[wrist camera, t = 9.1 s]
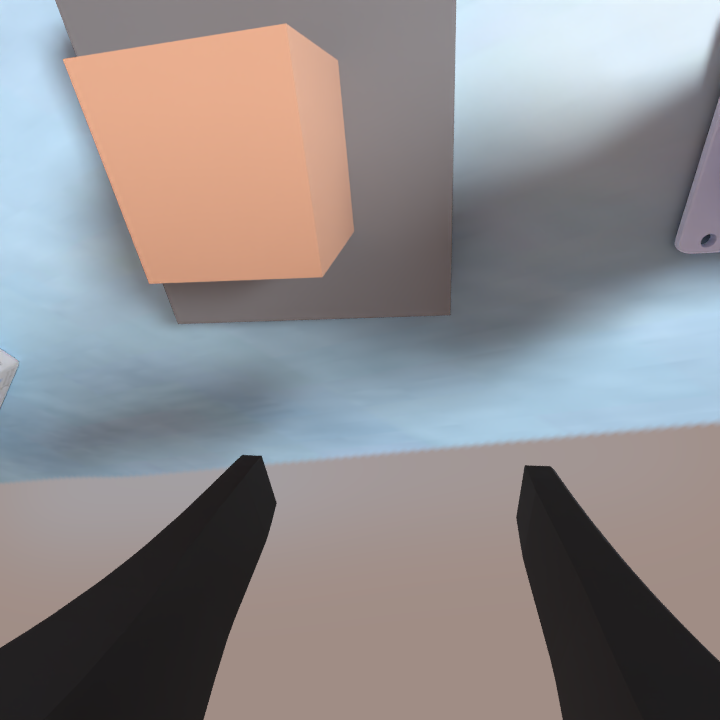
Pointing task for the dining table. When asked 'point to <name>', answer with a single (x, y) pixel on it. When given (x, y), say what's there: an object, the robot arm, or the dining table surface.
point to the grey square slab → (363, 144)
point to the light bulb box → (6, 373)
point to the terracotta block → (223, 153)
